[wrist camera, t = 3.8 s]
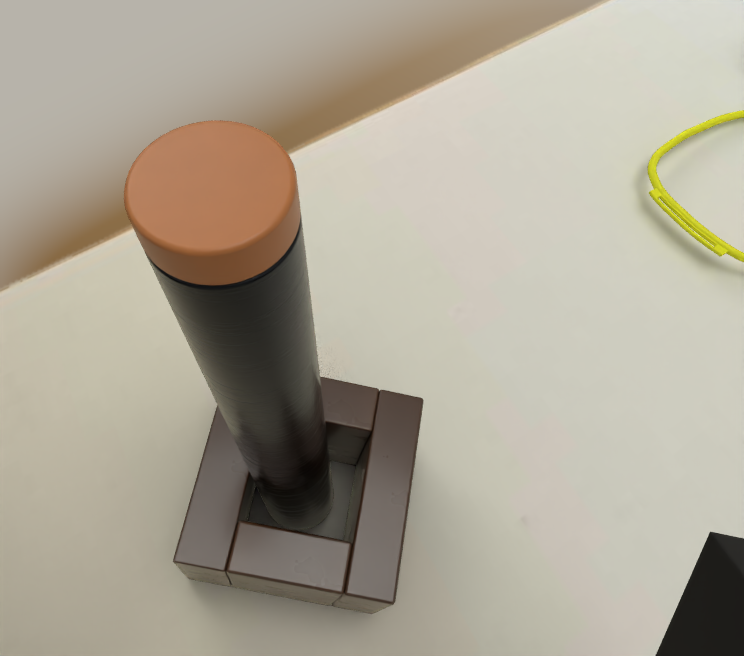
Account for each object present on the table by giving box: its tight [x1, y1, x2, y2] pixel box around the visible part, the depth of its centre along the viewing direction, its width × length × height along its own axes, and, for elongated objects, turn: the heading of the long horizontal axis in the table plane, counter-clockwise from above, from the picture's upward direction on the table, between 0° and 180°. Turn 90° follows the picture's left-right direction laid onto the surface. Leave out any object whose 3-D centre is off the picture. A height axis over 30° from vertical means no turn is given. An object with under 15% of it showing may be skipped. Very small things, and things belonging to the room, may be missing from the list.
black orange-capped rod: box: [124, 121, 334, 531], centre depth 16 cm, size 2×2×16 cm
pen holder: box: [173, 377, 423, 614], centre depth 22 cm, size 6×6×4 cm
